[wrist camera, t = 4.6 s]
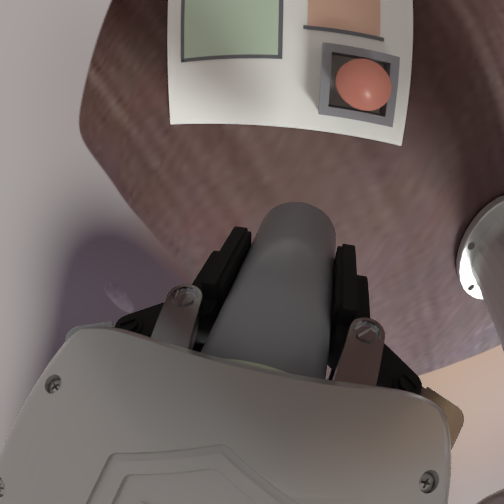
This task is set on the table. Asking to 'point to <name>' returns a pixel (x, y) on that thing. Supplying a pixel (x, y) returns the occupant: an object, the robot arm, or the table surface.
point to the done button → (363, 84)
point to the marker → (281, 296)
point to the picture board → (286, 63)
